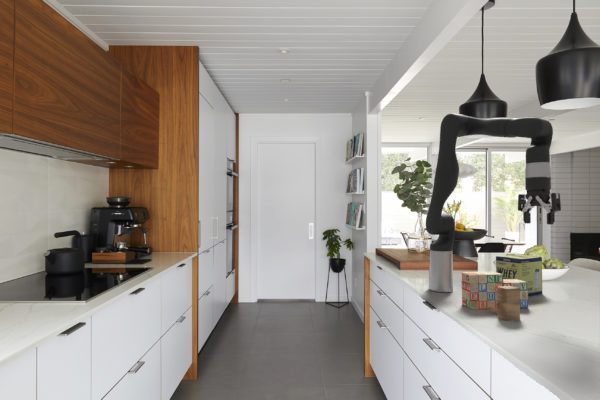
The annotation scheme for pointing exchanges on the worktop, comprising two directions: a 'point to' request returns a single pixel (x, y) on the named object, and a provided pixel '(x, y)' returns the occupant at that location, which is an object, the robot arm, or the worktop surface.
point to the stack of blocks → (488, 289)
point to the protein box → (522, 270)
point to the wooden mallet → (508, 303)
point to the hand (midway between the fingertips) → (538, 223)
